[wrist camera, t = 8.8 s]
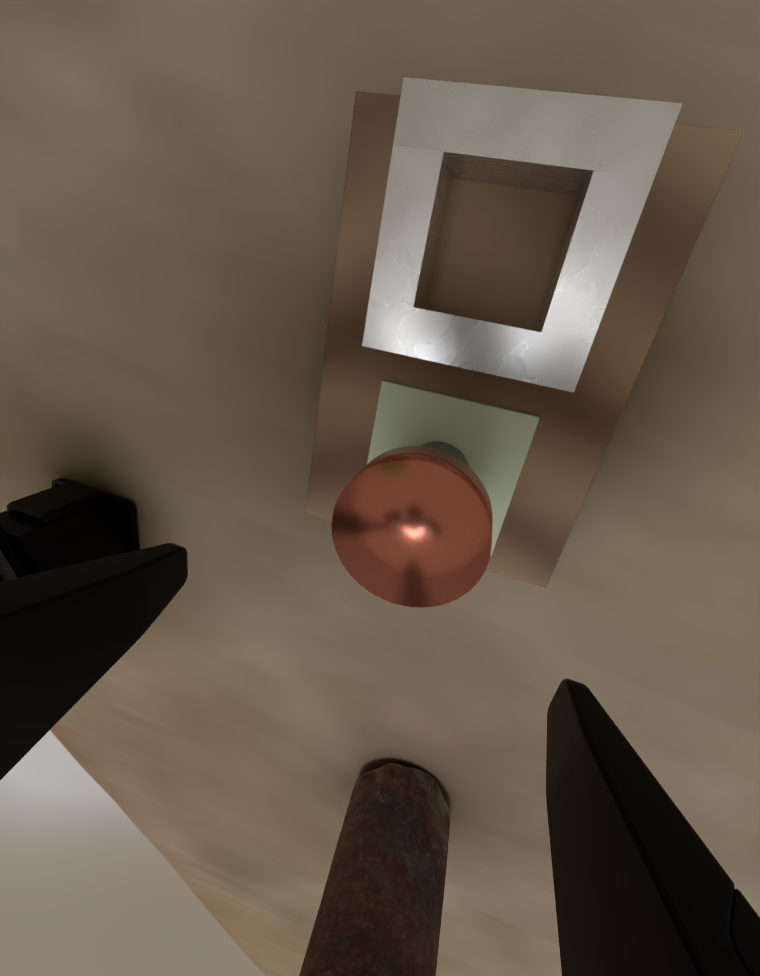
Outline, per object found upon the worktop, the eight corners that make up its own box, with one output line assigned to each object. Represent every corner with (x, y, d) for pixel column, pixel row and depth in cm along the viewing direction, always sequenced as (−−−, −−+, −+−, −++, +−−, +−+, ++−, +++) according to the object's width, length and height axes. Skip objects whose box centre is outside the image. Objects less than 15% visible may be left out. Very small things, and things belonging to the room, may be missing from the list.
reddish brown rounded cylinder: (476, 534, 20) (465, 627, 14) (375, 505, 21) (322, 579, 14) (509, 433, 18) (514, 488, 11) (395, 405, 18) (343, 442, 12)
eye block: (563, 383, 17) (573, 392, 14) (379, 343, 18) (361, 345, 16) (651, 141, 13) (682, 103, 11) (418, 115, 15) (403, 77, 13)
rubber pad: (491, 552, 20) (491, 555, 20) (359, 513, 21) (357, 516, 21) (539, 416, 17) (539, 417, 17) (383, 380, 18) (381, 380, 18)
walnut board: (543, 571, 21) (546, 587, 20) (316, 503, 24) (305, 514, 22) (720, 149, 14) (743, 131, 13) (368, 111, 16) (355, 91, 15)
